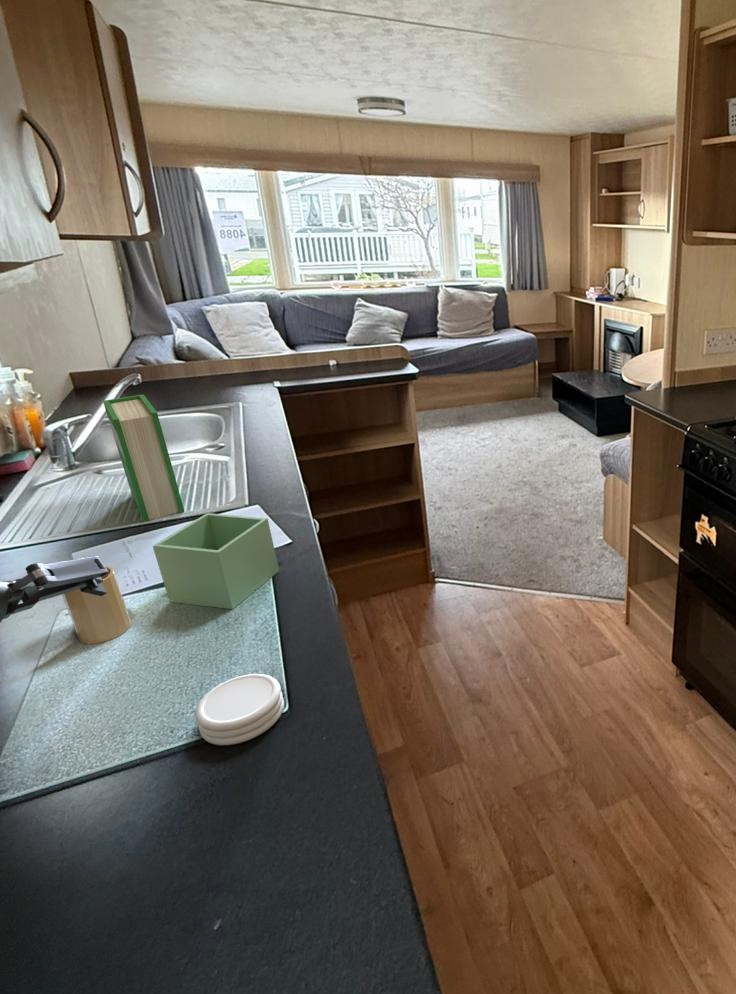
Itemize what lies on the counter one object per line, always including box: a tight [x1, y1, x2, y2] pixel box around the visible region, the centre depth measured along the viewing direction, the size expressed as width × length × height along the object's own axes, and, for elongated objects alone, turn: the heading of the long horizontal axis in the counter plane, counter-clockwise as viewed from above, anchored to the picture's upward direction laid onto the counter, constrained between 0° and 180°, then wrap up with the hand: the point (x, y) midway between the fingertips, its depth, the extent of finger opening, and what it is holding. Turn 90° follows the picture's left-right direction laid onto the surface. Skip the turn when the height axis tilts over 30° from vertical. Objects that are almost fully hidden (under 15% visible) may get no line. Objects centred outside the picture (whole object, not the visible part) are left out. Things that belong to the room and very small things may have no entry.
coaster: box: [195, 673, 285, 746], centre depth 86 cm, size 10×10×4 cm
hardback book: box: [102, 394, 186, 523], centre depth 141 cm, size 18×7×24 cm, turn 41°
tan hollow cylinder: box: [61, 565, 132, 645], centre depth 102 cm, size 7×7×10 cm
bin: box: [152, 512, 280, 610], centre depth 114 cm, size 12×12×11 cm
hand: (42, 617), depth 83 cm, fingers open, 13 cm apart
